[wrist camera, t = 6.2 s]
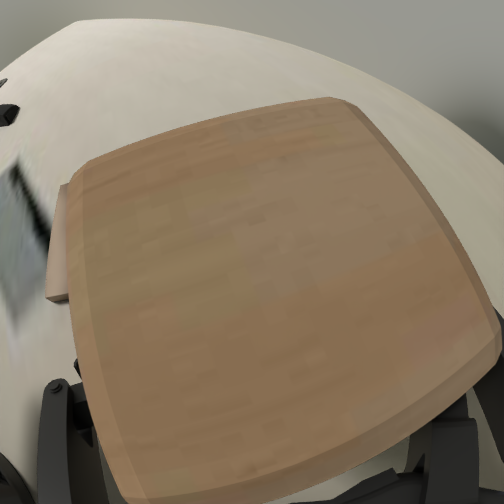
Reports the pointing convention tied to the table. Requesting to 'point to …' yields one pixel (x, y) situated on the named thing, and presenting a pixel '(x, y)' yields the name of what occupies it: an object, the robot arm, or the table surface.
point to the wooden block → (265, 304)
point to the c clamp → (2, 82)
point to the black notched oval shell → (7, 114)
